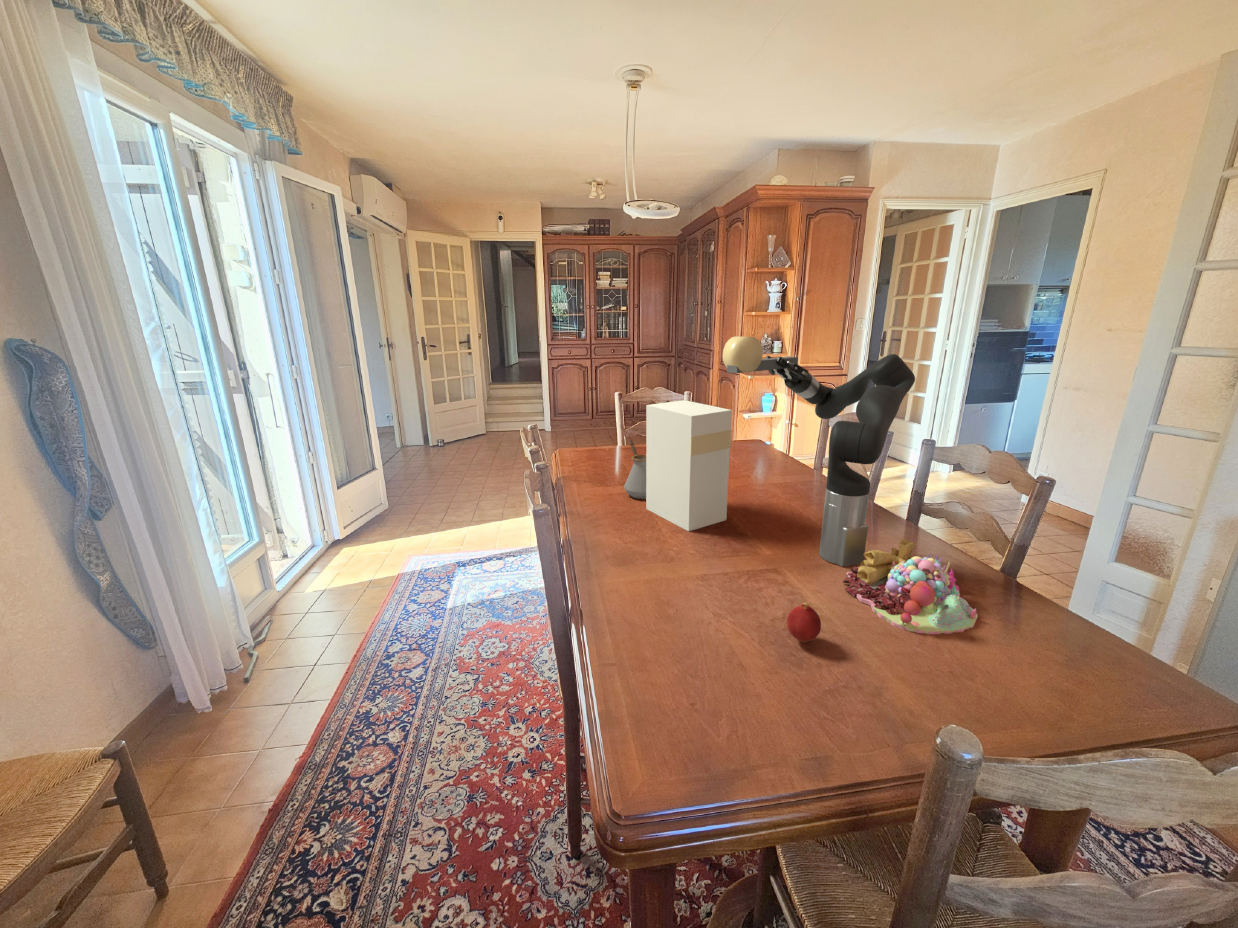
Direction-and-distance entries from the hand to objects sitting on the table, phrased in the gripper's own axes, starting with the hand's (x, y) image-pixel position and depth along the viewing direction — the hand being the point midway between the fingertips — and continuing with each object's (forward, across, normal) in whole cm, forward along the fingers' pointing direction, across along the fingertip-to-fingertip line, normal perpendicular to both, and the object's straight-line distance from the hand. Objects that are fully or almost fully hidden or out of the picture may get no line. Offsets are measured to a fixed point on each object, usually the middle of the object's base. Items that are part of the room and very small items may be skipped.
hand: (772, 359), depth 154 cm
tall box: (+7, 0, +54) cm, 54 cm away
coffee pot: (+6, -26, +54) cm, 60 cm away
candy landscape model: (-2, +61, +50) cm, 79 cm away
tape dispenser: (+2, 0, +4) cm, 5 cm away
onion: (+25, +58, +64) cm, 90 cm away
